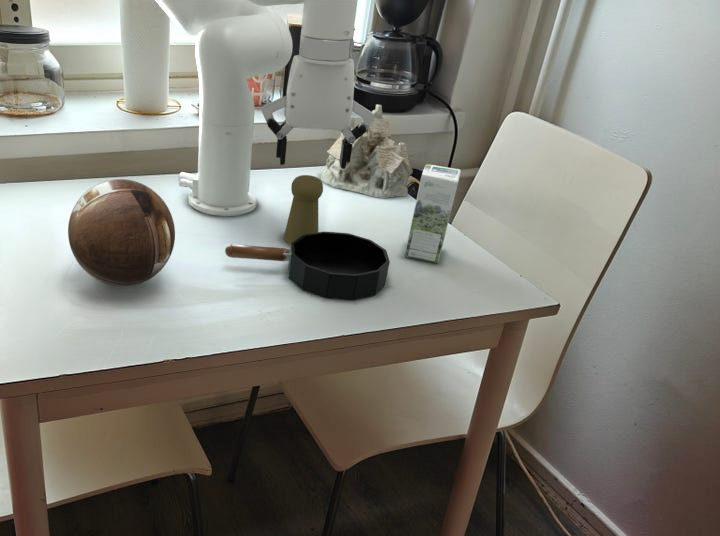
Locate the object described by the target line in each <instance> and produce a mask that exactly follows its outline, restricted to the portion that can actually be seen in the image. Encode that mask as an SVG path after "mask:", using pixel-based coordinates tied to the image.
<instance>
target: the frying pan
mask: <svg viewBox="0 0 720 536" xmlns="http://www.w3.org/2000/svg"><path fill="white" fill-rule="evenodd" d="M289 247H290V248H285V247H274V246H260V245H248V244H247V245H246V244H234V243H233V244H232V243H231V244H228V245H227V246H225V249H224V253H225V255H226V256H227V257H228V258H231V259H232V258H233V259H245V260H246V259H248V260H261V261H274V262H288V263H287V265H288V266H287V271H288V272H287V273H288V279H289V280H290V281H291V282H292V283H293V284H294V285H296V286H297V287H298V288H299V289H300V290H302V291H304V292H305V293H310V294H312V295H316V296H318V297H322V298H324V299H331V300H343V301H356V300H362V299H365V298H370V297H375V296H376V295H377V294H378V293H379V292H380V291H381V290H382V289H383V288H384V287H385V286H386V283H387V278H388V273H389V268H390V264H391V261H390V258H389V254H388V252H387V250H386V249H385V248H383V246H380V244H378V243H376V242H375V241H373V240H371V239H369V238H366V237H362V236H358V235H355V234H353V233H350V232H349V233H348V232H339V231H338V232H335V231H318V232H317V233H312V234H306V235H302V236H301V237H299V238H298V239H296V240H295V241H293V242H292V243H291V245H289Z"/></svg>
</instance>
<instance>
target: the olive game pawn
mask: <svg viewBox="0 0 720 536" xmlns="http://www.w3.org/2000/svg"><path fill="white" fill-rule="evenodd" d="M323 183H324V182H323V181H322V180H321V179H320V177H317V176H316V175H315V176H314V175H310V174H301V175H298V176H296V177H294V178H293V180H292V182H291V188H290V190H291V194H292V196H293V198H292V202H291V206H290V209H289V210H290V211H289V213H288V219H287V222H286V226H285V229H284V234H283V241H284V243H286V244H287V245H289V246H291V243H292V242H293V241H295V240H296V239H298V238H299V237H301V236H302V235H306V234H312V233H317V232H319V199H320V198H321V197H322V195H323V192H324V185H323Z"/></svg>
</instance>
